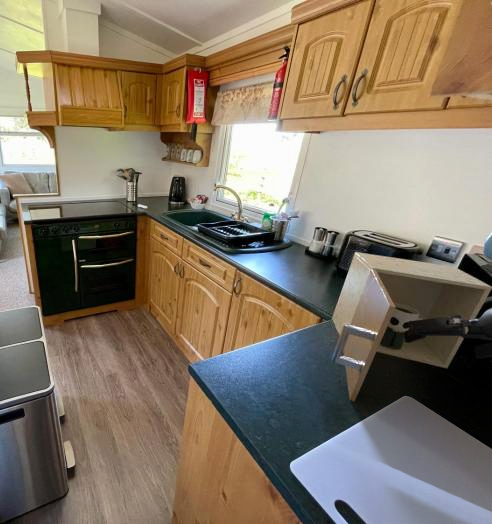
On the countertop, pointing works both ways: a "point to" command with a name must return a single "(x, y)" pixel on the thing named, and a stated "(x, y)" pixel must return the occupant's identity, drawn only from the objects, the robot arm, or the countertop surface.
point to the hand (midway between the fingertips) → (440, 344)
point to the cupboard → (415, 300)
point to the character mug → (399, 325)
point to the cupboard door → (364, 333)
